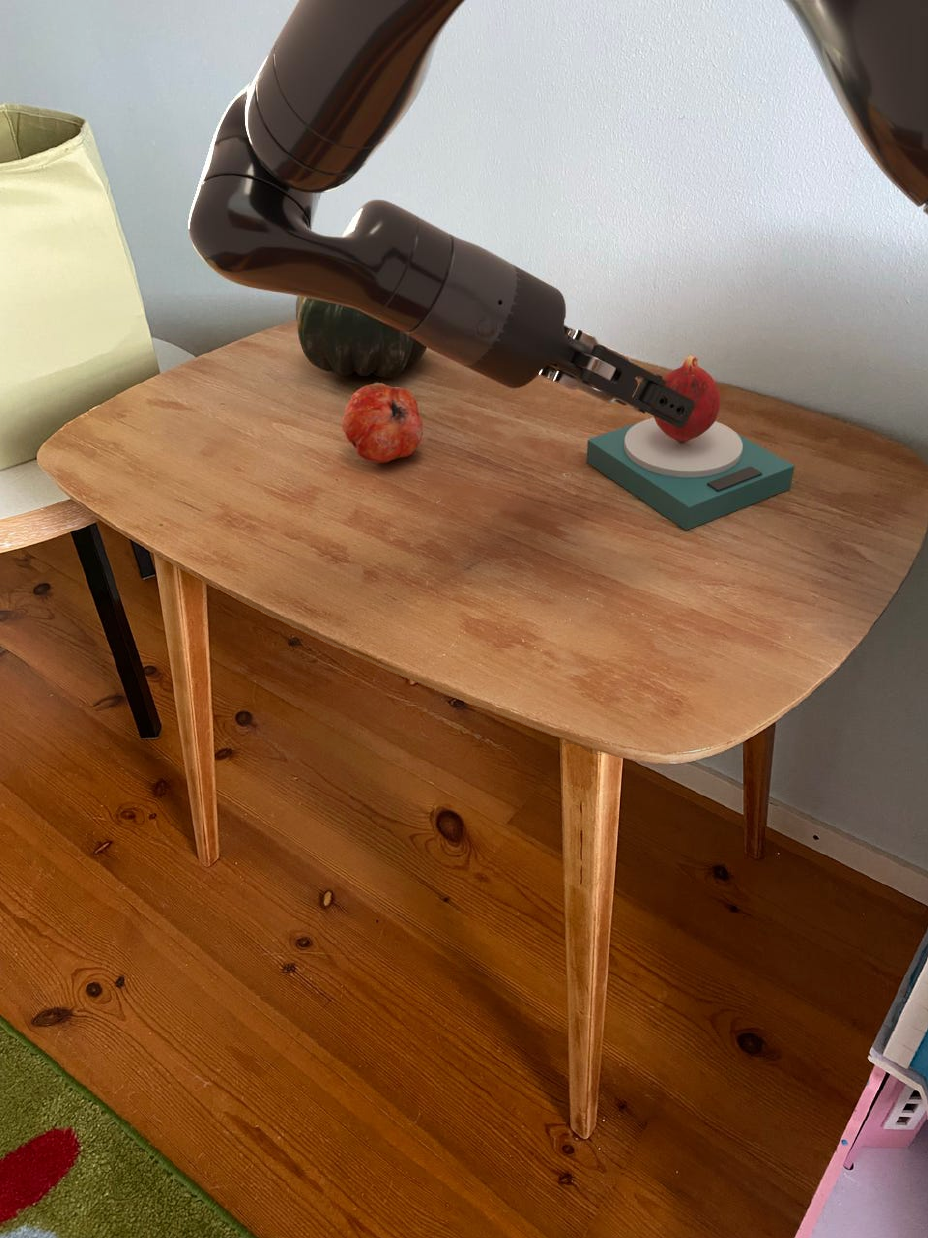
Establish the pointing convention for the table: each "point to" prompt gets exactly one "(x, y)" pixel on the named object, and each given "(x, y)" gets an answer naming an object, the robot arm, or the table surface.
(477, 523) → the table surface
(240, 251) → the robot arm
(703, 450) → the scale
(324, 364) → the squash
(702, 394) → the onion
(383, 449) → the pomegranate
